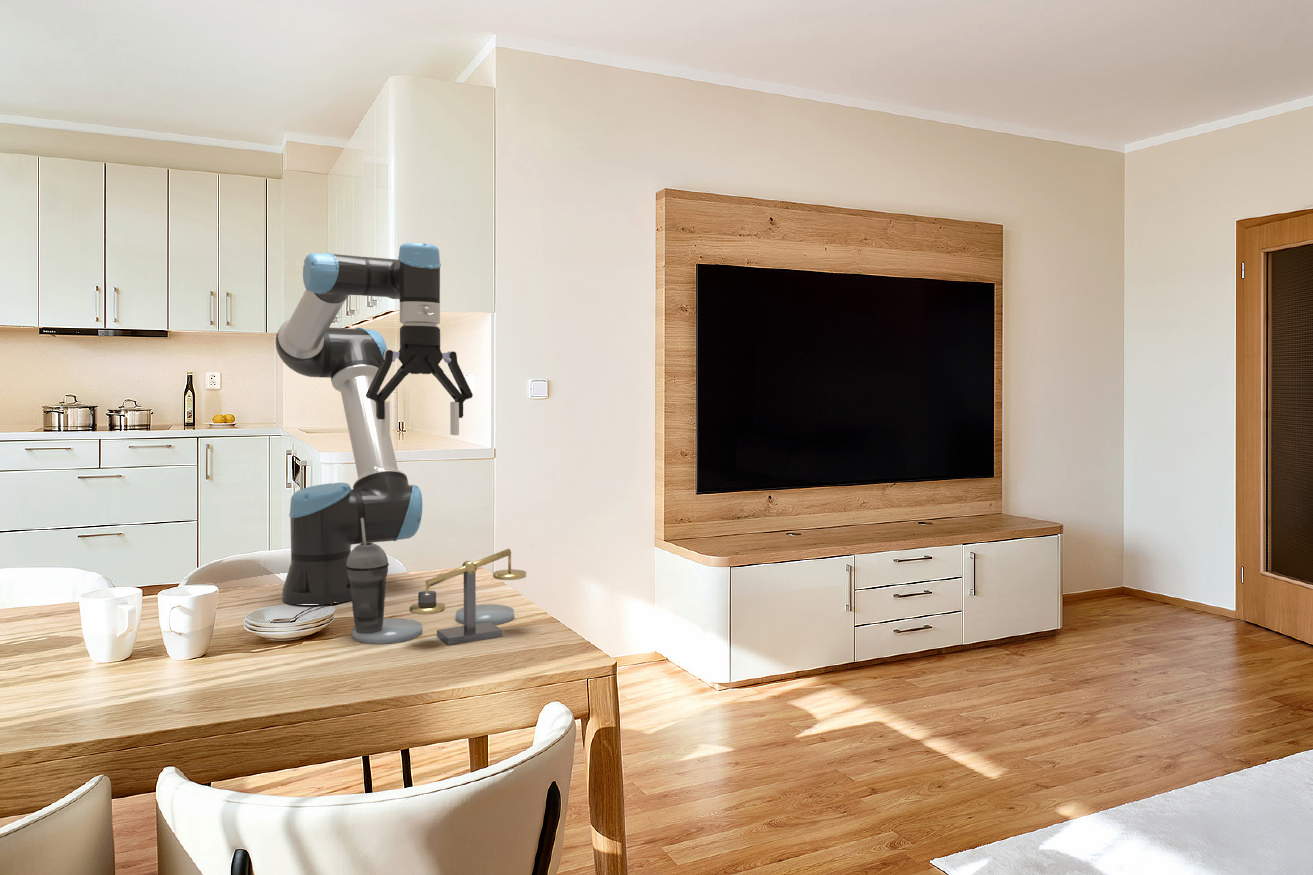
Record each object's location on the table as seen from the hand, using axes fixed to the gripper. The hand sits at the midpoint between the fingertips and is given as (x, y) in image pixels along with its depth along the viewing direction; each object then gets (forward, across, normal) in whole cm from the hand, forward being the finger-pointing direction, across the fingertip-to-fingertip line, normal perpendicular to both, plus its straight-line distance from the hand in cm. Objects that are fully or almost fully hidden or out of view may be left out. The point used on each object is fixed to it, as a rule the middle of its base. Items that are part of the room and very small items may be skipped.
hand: (420, 436), depth 171 cm
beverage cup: (+34, -13, -11) cm, 38 cm away
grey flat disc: (+35, -10, -11) cm, 38 cm away
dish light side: (+35, +9, -10) cm, 37 cm away
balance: (+35, +2, -20) cm, 40 cm away
